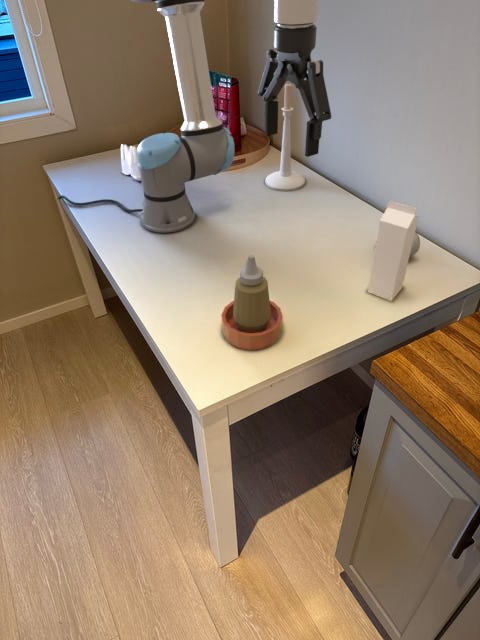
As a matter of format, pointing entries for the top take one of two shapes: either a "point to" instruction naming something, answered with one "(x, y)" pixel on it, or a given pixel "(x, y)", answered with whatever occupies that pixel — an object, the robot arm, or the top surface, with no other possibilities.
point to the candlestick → (285, 154)
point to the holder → (252, 339)
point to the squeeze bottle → (251, 299)
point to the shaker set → (130, 162)
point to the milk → (392, 250)
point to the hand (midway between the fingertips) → (290, 144)
